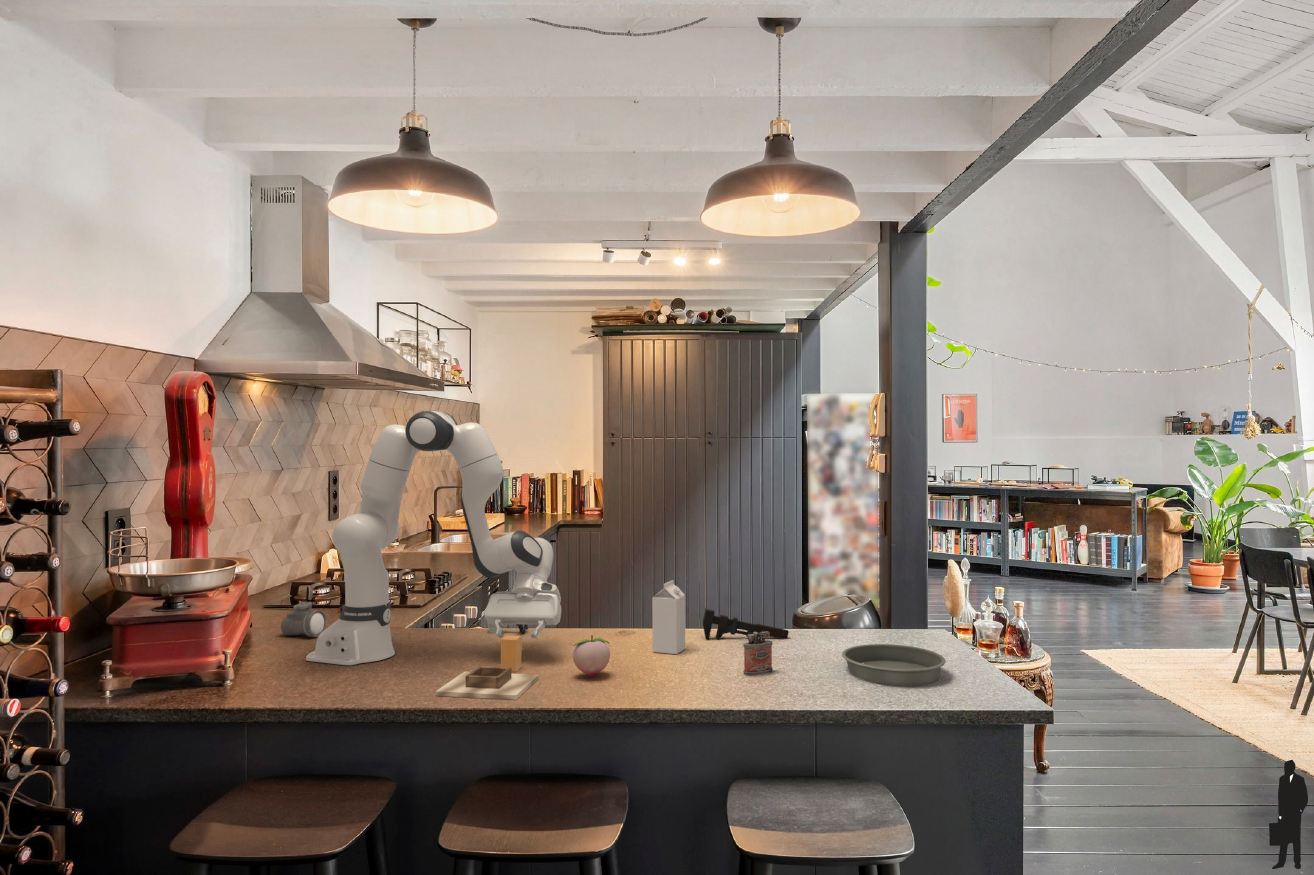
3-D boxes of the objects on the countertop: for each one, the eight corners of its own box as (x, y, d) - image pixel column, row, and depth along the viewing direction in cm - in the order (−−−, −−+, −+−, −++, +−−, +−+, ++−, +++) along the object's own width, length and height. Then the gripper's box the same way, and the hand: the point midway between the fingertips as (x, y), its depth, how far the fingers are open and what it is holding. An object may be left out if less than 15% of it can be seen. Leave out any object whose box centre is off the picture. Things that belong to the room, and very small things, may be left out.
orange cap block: (500, 671, 192) (500, 639, 192) (506, 666, 196) (506, 635, 196) (516, 671, 192) (516, 639, 192) (521, 667, 195) (521, 636, 196)
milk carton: (652, 652, 210) (652, 583, 210) (661, 646, 216) (661, 579, 217) (676, 655, 207) (676, 584, 207) (685, 648, 214) (685, 580, 214)
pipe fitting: (330, 632, 233) (325, 599, 233) (312, 640, 225) (307, 606, 225) (297, 634, 236) (292, 602, 236) (278, 643, 228) (273, 609, 228)
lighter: (748, 676, 186) (748, 635, 187) (740, 673, 189) (740, 632, 190) (775, 672, 190) (775, 631, 190) (767, 668, 193) (767, 629, 193)
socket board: (435, 695, 173) (435, 680, 173) (464, 675, 188) (464, 661, 189) (516, 699, 170) (516, 683, 170) (538, 678, 185) (538, 664, 185)
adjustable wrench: (784, 656, 224) (700, 638, 224) (782, 653, 227) (699, 636, 226) (789, 627, 224) (706, 610, 224) (788, 625, 227) (705, 608, 227)
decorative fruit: (583, 683, 181) (582, 641, 182) (568, 675, 188) (568, 634, 189) (617, 677, 186) (617, 636, 187) (601, 669, 193) (601, 629, 194)
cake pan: (913, 658, 204) (913, 641, 204) (966, 685, 179) (966, 666, 180) (826, 662, 200) (826, 645, 200) (868, 691, 175) (868, 671, 175)
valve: (483, 634, 232) (521, 636, 230) (483, 612, 232) (521, 614, 230) (492, 629, 238) (529, 631, 236) (492, 608, 238) (529, 609, 236)
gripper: (489, 584, 207) (475, 628, 197) (562, 585, 204) (551, 631, 194) (495, 597, 211) (481, 642, 201) (566, 599, 208) (556, 644, 198)
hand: (516, 636), depth 198 cm, fingers open, 8 cm apart
